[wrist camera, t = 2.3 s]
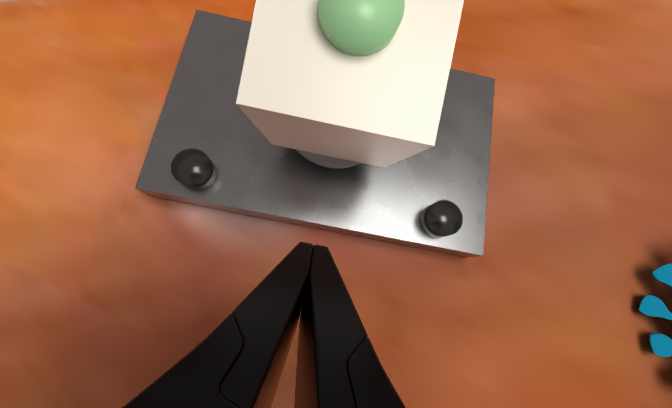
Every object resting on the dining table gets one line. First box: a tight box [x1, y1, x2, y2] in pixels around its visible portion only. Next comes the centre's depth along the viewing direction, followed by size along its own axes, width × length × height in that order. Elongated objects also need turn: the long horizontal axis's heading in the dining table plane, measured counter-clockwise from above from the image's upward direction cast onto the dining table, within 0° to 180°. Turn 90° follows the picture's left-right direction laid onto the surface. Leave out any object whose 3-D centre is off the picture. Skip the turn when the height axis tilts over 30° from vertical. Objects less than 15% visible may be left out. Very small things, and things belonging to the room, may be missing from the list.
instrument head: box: [236, 0, 464, 169], centre depth 13 cm, size 10×6×9 cm, turn 170°
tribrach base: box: [135, 10, 495, 257], centre depth 19 cm, size 12×20×3 cm, turn 80°
